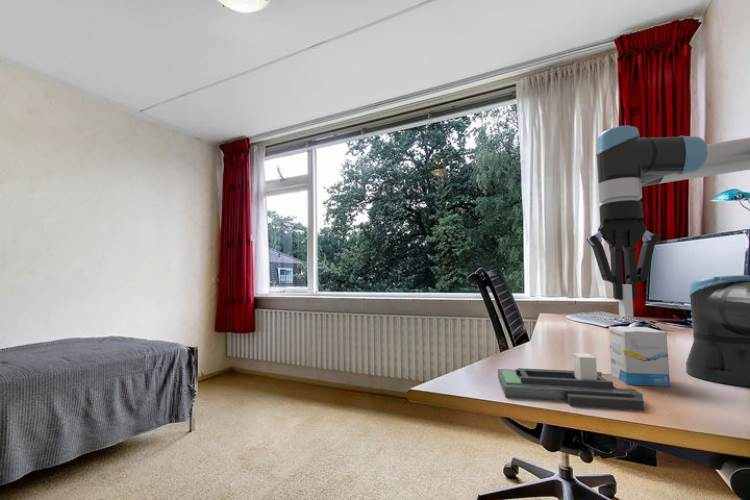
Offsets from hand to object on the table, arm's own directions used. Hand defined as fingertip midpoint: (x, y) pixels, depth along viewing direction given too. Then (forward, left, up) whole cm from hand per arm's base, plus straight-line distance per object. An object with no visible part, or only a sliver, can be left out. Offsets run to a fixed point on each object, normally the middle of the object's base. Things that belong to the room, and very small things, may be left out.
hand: (626, 316), depth 74 cm
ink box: (-6, -11, -16) cm, 20 cm away
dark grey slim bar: (+11, -10, -16) cm, 21 cm away
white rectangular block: (+8, 0, -13) cm, 16 cm away
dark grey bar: (+8, +9, -16) cm, 20 cm away
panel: (+13, 0, -16) cm, 20 cm away
